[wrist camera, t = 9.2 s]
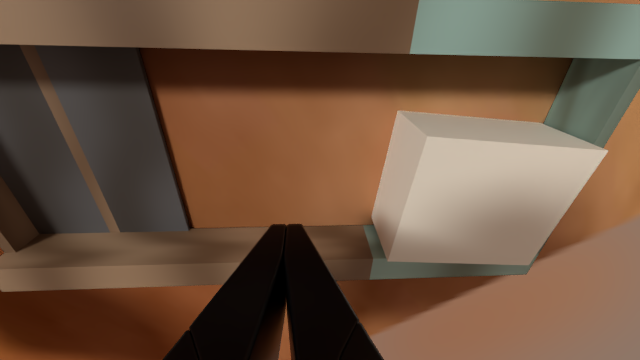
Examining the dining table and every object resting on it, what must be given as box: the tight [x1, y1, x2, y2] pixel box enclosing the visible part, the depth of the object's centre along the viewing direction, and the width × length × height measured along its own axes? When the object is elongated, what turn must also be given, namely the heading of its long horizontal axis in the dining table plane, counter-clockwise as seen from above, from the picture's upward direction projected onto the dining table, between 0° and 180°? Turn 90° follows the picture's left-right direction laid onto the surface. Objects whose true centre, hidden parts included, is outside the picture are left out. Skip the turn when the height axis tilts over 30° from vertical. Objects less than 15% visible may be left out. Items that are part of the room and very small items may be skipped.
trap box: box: [0, 0, 640, 292], centre depth 11 cm, size 26×12×2 cm, turn 89°
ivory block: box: [372, 110, 608, 265], centre depth 12 cm, size 7×6×4 cm
